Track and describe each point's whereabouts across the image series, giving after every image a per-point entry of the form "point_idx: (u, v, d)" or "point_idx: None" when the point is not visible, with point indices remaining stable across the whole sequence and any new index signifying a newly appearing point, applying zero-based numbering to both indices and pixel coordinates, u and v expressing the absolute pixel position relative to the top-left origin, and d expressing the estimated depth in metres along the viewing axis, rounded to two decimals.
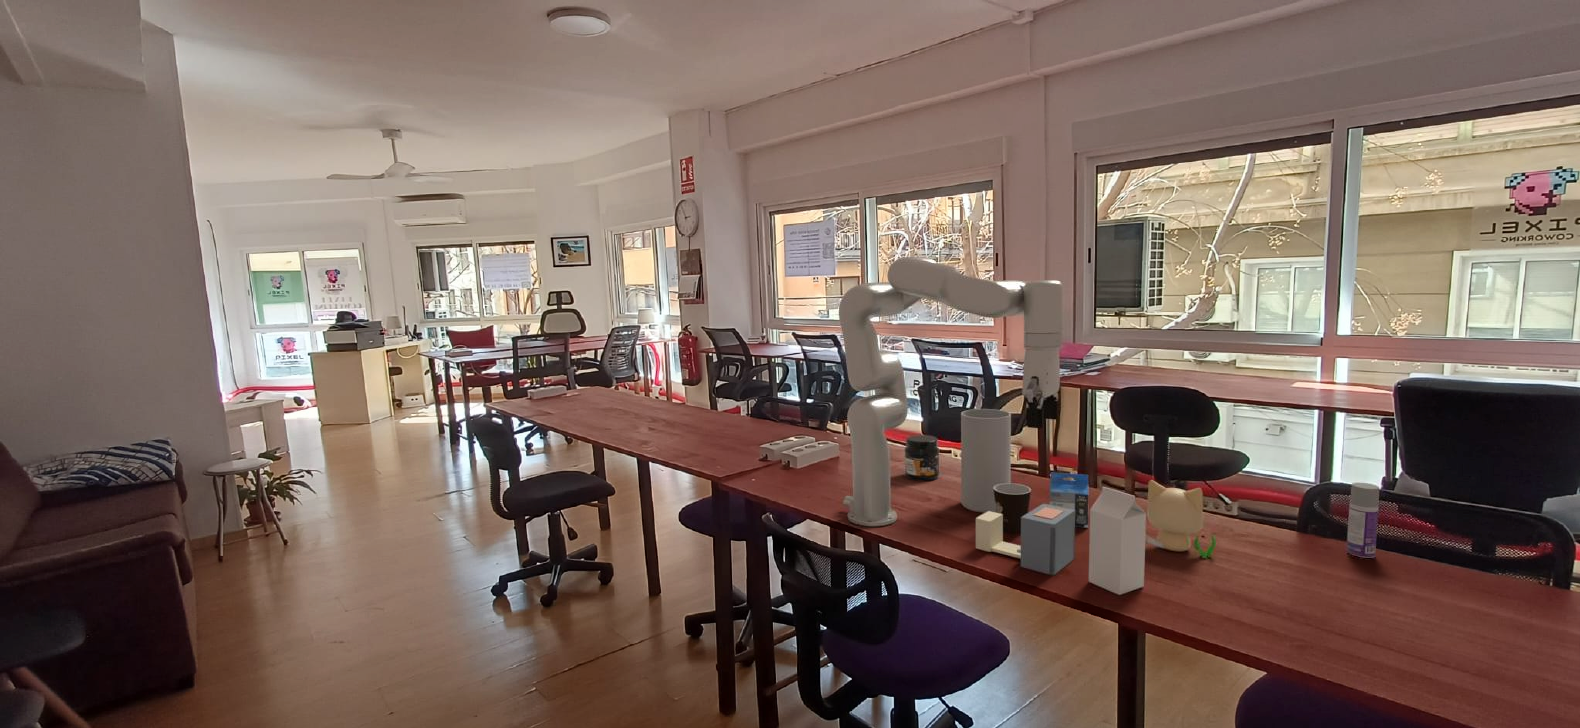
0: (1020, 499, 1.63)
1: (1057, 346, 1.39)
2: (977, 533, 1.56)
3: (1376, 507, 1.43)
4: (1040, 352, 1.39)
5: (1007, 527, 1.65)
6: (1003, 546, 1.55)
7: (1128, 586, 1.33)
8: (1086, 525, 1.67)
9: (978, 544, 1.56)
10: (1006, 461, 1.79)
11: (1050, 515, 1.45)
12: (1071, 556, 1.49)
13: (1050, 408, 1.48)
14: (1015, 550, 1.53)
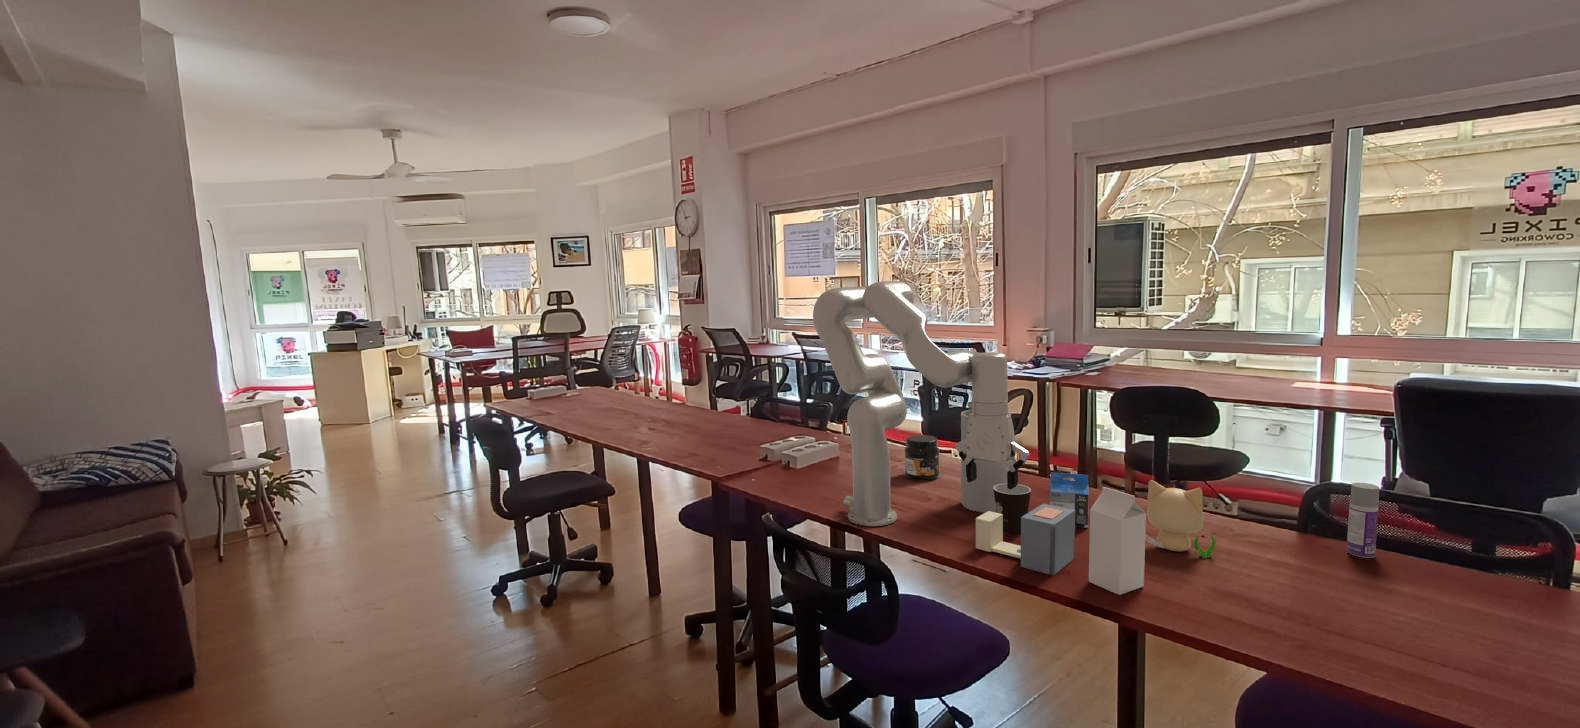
0: (1020, 499, 1.63)
1: None
2: (977, 533, 1.56)
3: (1376, 507, 1.43)
4: (1010, 418, 1.51)
5: (1007, 527, 1.65)
6: (1003, 546, 1.55)
7: (1128, 586, 1.33)
8: (1086, 525, 1.67)
9: (978, 544, 1.56)
10: None
11: (1050, 515, 1.45)
12: (1071, 556, 1.49)
13: (973, 470, 1.58)
14: (1015, 550, 1.53)
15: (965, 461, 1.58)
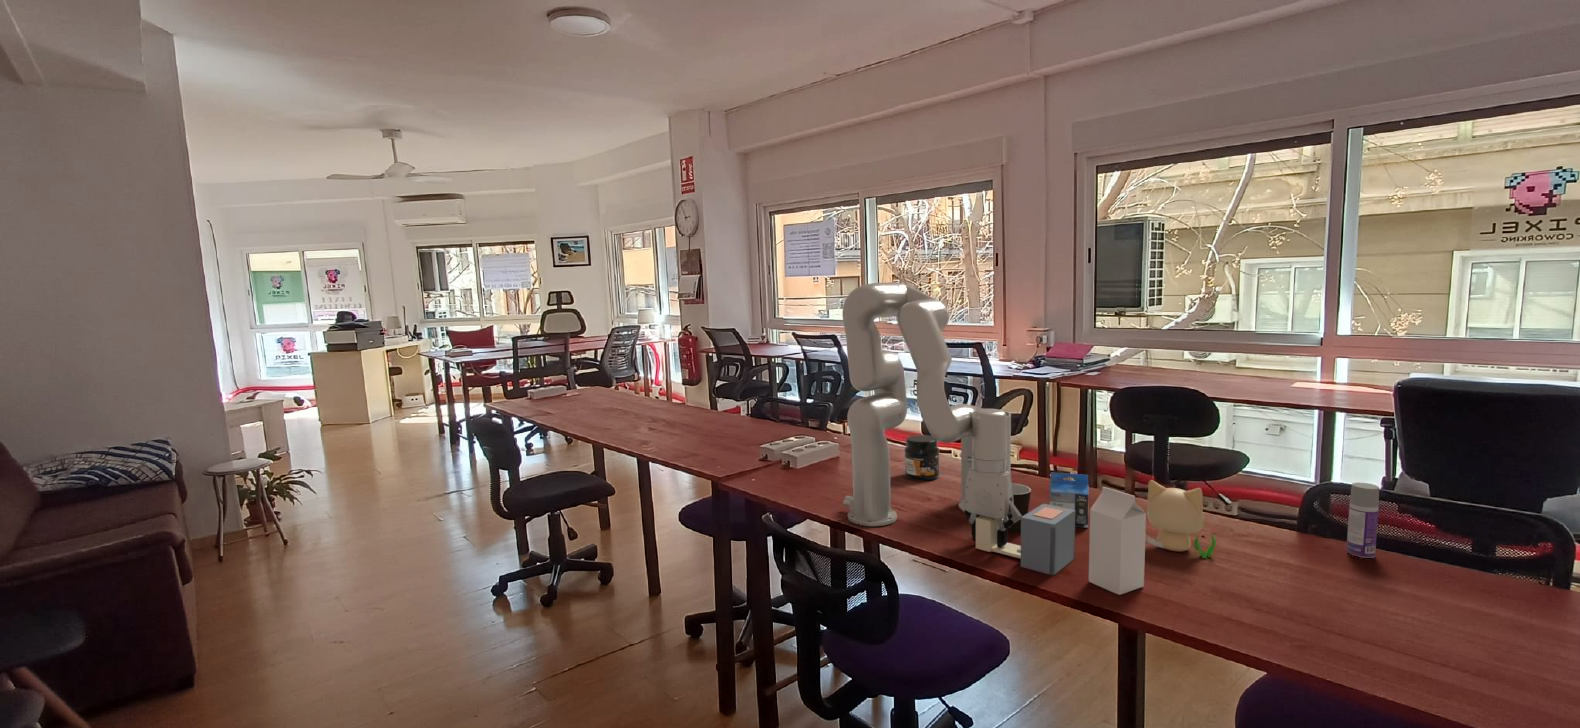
0: (1020, 499, 1.63)
1: None
2: (977, 533, 1.56)
3: (1376, 507, 1.43)
4: (1009, 475, 1.53)
5: None
6: (1003, 546, 1.55)
7: (1128, 586, 1.33)
8: (1086, 525, 1.67)
9: (978, 544, 1.56)
10: None
11: (1050, 515, 1.45)
12: (1071, 556, 1.49)
13: None
14: (1015, 550, 1.53)
15: (971, 520, 1.59)
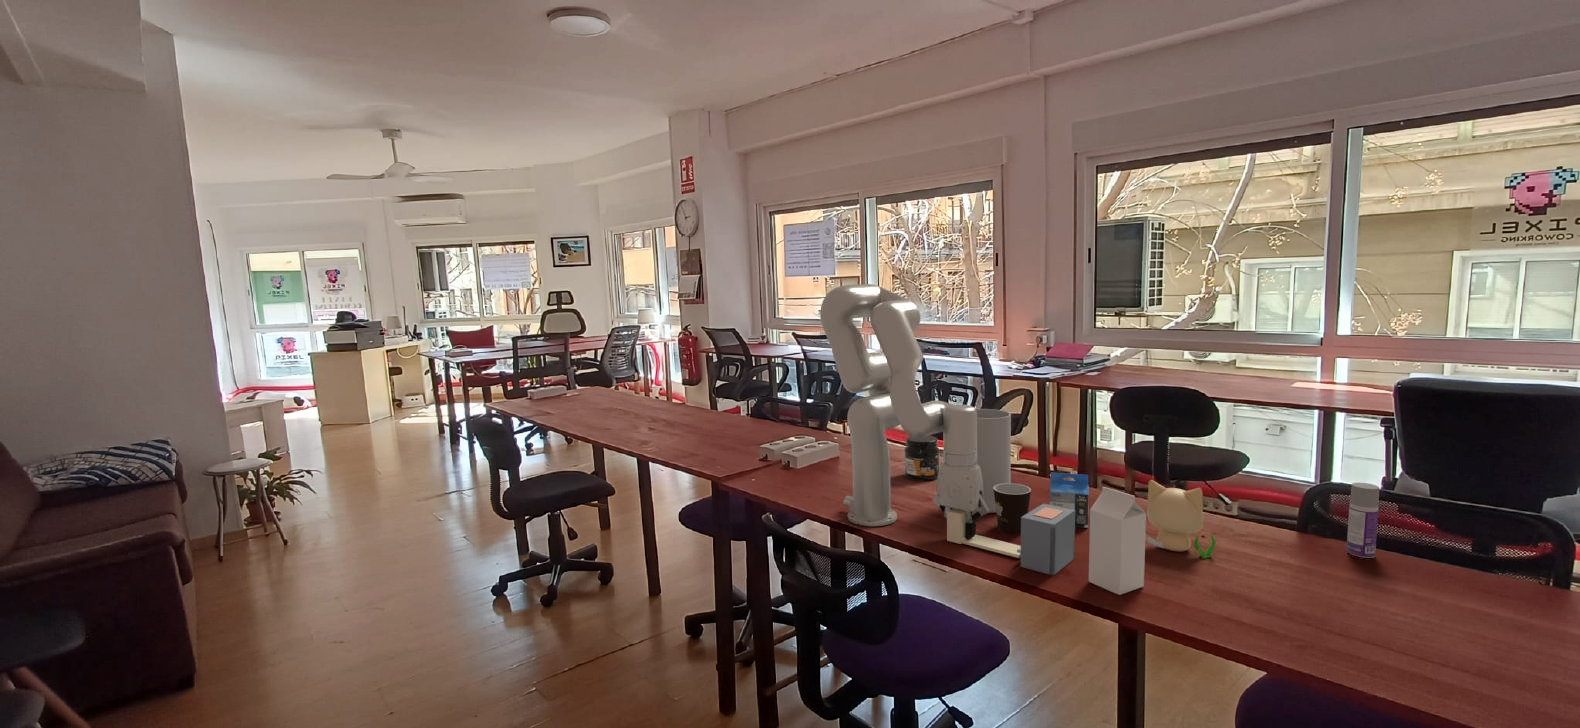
0: (1020, 499, 1.63)
1: None
2: (948, 525, 1.61)
3: (1376, 507, 1.43)
4: (979, 468, 1.58)
5: (1007, 527, 1.65)
6: (973, 538, 1.60)
7: (1128, 586, 1.33)
8: (1086, 525, 1.67)
9: (949, 536, 1.61)
10: (1006, 461, 1.79)
11: (1050, 515, 1.45)
12: (1071, 556, 1.49)
13: None
14: (984, 542, 1.58)
15: (946, 515, 1.63)
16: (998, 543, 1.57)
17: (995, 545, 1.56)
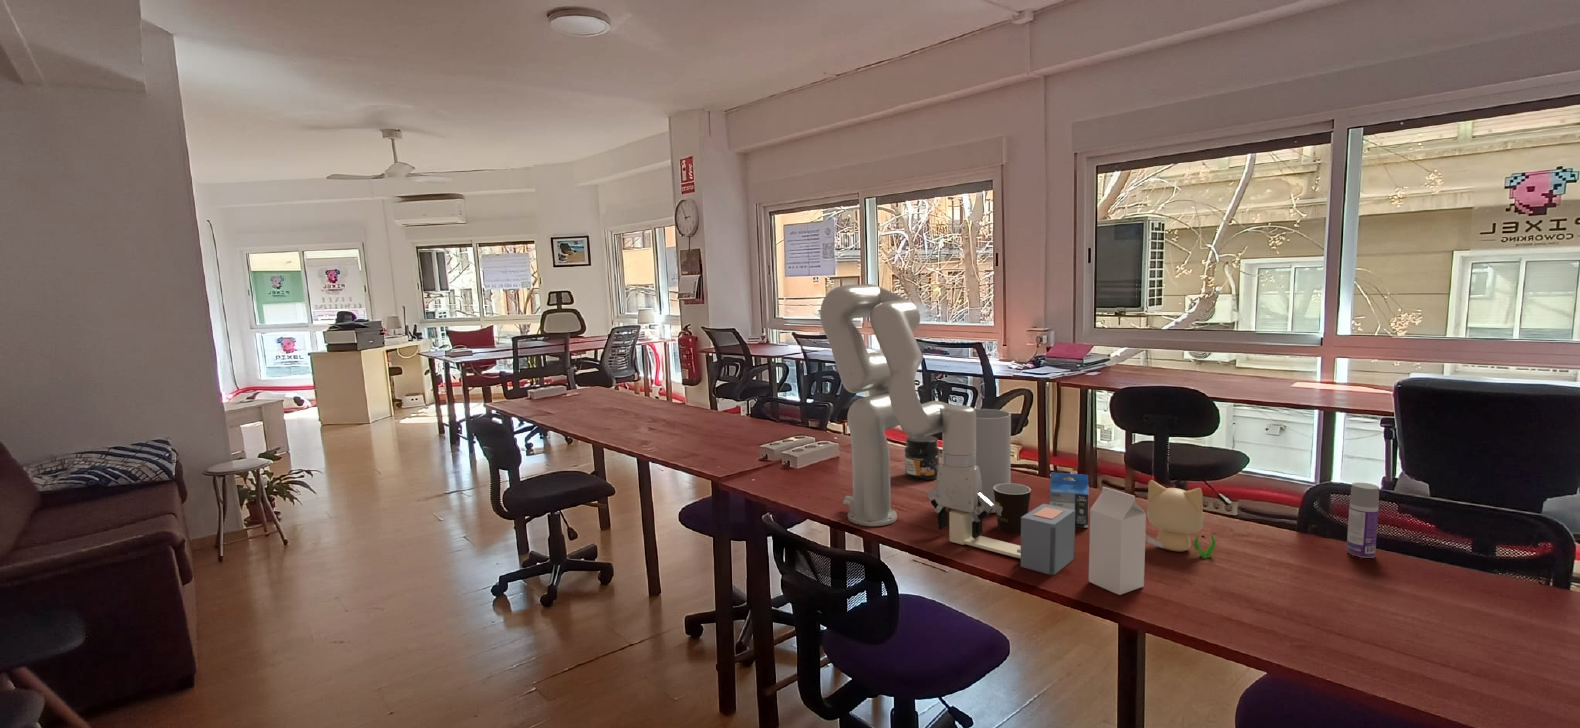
0: (1020, 499, 1.63)
1: None
2: (951, 526, 1.60)
3: (1376, 507, 1.43)
4: (978, 469, 1.58)
5: (1007, 527, 1.65)
6: (976, 539, 1.60)
7: (1128, 586, 1.33)
8: (1086, 525, 1.67)
9: (952, 537, 1.61)
10: (1006, 461, 1.79)
11: (1050, 515, 1.45)
12: (1071, 556, 1.49)
13: (945, 518, 1.65)
14: (987, 543, 1.57)
15: (937, 509, 1.65)
16: (1001, 544, 1.56)
17: (998, 546, 1.55)
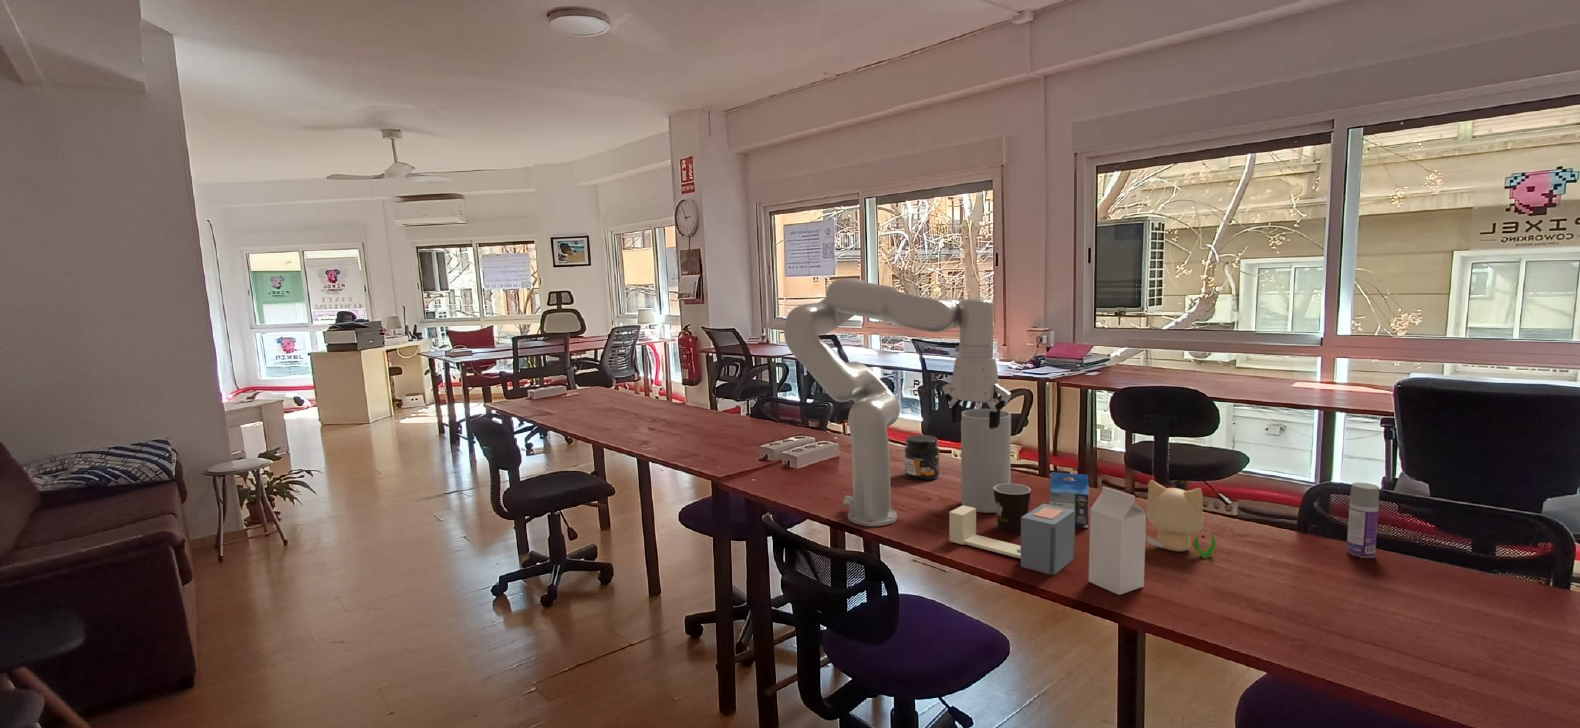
0: (1020, 499, 1.63)
1: None
2: (951, 526, 1.60)
3: (1376, 507, 1.43)
4: (995, 361, 1.59)
5: (1007, 527, 1.65)
6: (976, 539, 1.60)
7: (1128, 586, 1.33)
8: (1086, 525, 1.67)
9: (952, 537, 1.61)
10: (1006, 461, 1.79)
11: (1050, 515, 1.45)
12: (1071, 556, 1.49)
13: (959, 412, 1.66)
14: (987, 543, 1.57)
15: (951, 403, 1.66)
16: (1001, 544, 1.56)
17: (998, 546, 1.55)
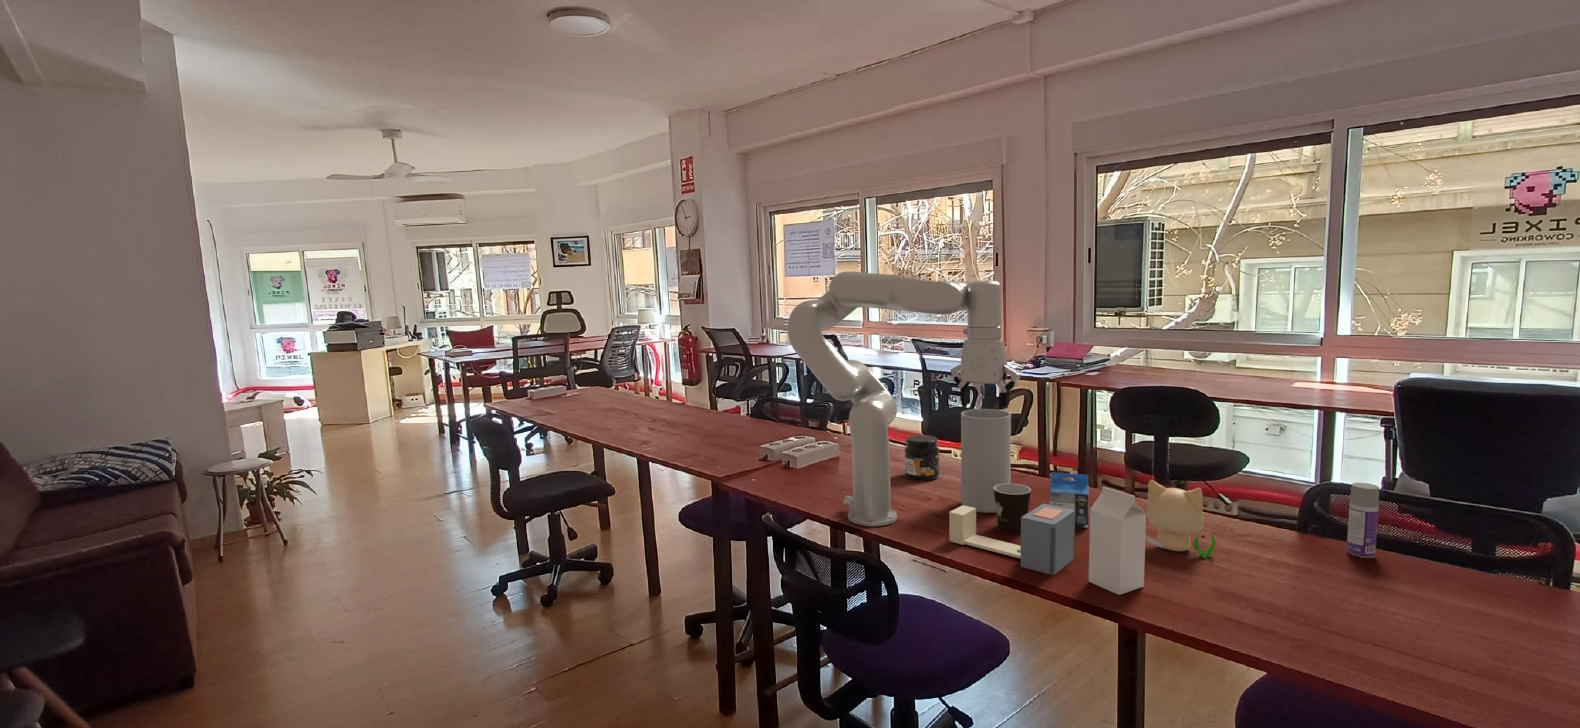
0: (1020, 499, 1.63)
1: None
2: (951, 526, 1.60)
3: (1376, 507, 1.43)
4: (1003, 342, 1.60)
5: (1007, 527, 1.65)
6: (976, 539, 1.60)
7: (1128, 586, 1.33)
8: (1086, 525, 1.67)
9: (952, 537, 1.61)
10: (1006, 461, 1.79)
11: (1050, 515, 1.45)
12: (1071, 556, 1.49)
13: (967, 394, 1.67)
14: (987, 543, 1.57)
15: (960, 385, 1.67)
16: (1001, 544, 1.56)
17: (998, 546, 1.55)
